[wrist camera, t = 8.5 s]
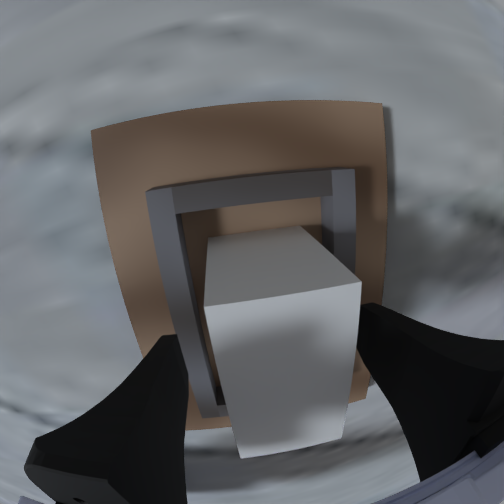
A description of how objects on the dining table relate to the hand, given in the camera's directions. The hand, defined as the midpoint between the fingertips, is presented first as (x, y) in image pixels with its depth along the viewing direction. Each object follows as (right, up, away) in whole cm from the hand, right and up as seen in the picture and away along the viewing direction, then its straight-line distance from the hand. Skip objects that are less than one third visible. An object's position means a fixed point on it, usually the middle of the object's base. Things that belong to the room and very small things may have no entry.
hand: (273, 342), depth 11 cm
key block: (0, +1, +3) cm, 3 cm away
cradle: (-1, +1, +4) cm, 4 cm away
